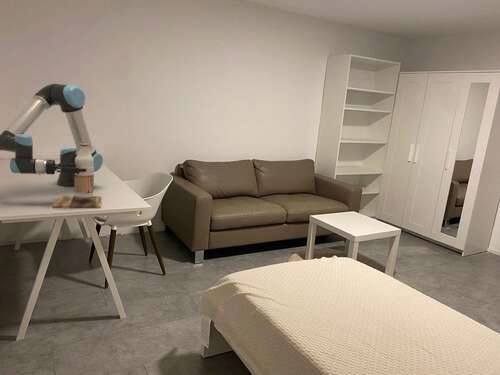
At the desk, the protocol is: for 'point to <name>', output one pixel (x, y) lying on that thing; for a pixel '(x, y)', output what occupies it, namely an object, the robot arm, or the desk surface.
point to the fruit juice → (84, 180)
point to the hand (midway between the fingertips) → (93, 168)
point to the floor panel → (77, 202)
